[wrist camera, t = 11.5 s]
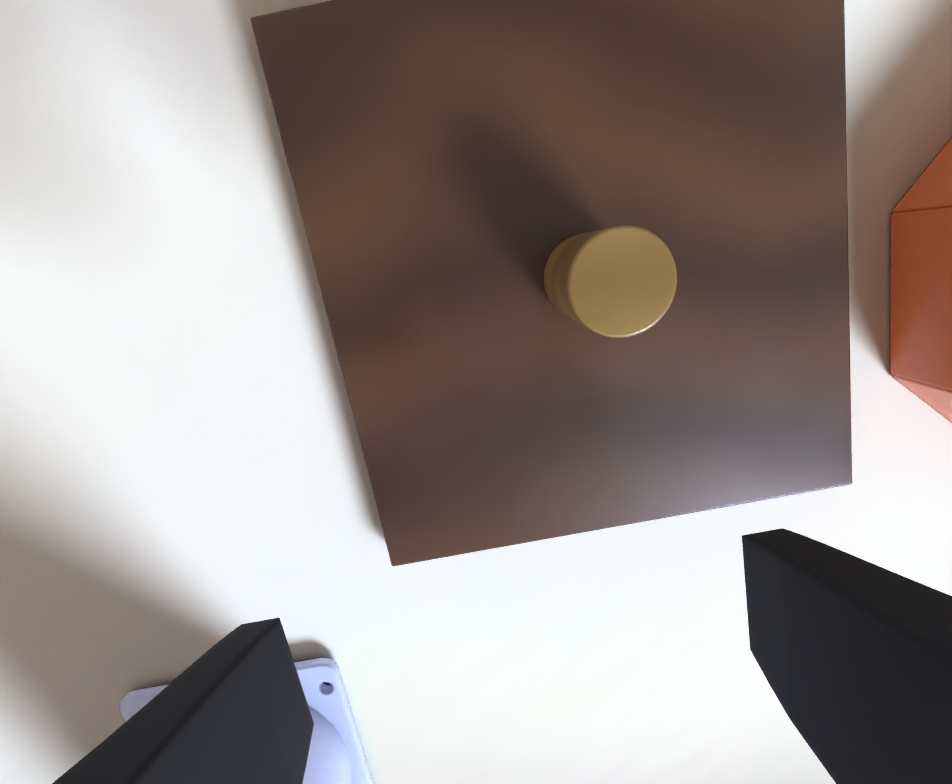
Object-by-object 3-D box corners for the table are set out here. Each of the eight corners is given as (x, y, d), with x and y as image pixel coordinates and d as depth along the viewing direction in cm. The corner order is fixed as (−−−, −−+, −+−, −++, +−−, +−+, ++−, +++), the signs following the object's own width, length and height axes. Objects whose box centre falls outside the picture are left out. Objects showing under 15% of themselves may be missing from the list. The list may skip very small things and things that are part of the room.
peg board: (832, 472, 18) (961, 548, 13) (396, 551, 18) (370, 651, 14) (817, -86, 14) (994, -260, 9) (263, 33, 14) (165, -76, 10)
